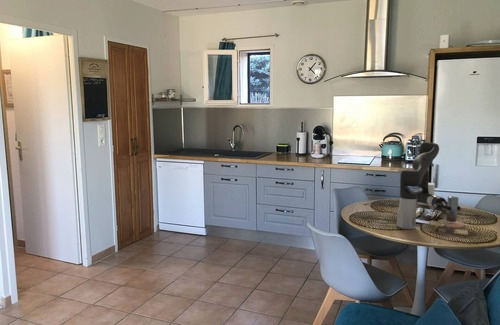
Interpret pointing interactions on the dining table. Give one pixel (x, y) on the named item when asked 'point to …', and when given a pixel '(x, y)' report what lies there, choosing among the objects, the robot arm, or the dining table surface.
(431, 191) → the supplement box
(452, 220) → the tea canister
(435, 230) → the balance
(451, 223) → the tan round piece
